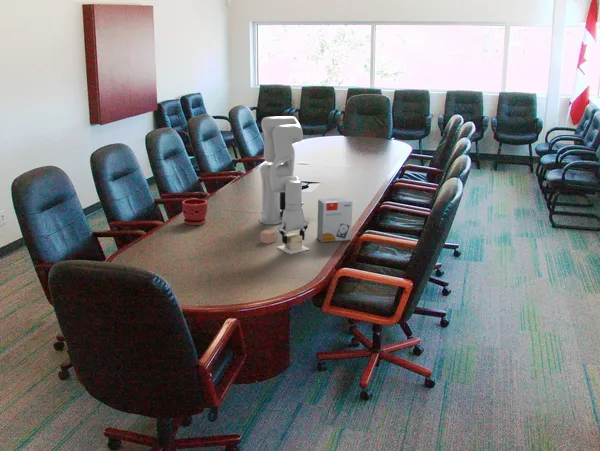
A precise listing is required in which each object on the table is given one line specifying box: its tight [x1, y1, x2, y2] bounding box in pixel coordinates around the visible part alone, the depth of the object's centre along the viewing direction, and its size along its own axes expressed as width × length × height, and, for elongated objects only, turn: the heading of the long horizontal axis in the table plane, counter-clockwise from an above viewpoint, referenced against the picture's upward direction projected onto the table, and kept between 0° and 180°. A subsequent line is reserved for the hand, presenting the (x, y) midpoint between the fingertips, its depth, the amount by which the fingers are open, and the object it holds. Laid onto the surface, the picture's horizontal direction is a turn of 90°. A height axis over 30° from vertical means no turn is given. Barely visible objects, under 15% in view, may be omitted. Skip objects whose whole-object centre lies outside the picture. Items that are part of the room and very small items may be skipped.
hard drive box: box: [316, 197, 353, 243], centre depth 321 cm, size 16×8×20 cm, turn 105°
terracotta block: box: [260, 229, 276, 245], centre depth 319 cm, size 5×5×5 cm
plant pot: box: [181, 198, 208, 226], centre depth 346 cm, size 13×13×12 cm
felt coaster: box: [276, 244, 311, 255], centre depth 309 cm, size 11×11×1 cm
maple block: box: [284, 232, 303, 251], centre depth 308 cm, size 6×6×6 cm
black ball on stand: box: [280, 192, 285, 217], centre depth 360 cm, size 13×13×15 cm
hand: (293, 241), depth 308 cm, fingers open, 9 cm apart
